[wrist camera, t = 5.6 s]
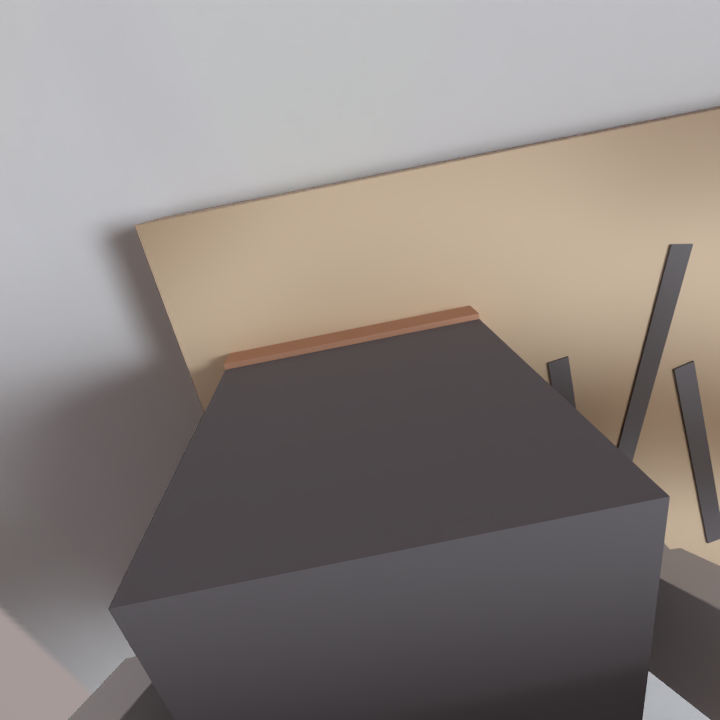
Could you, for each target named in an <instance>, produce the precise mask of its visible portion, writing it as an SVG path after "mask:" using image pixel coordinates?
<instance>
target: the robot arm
mask: <svg viewBox="0 0 720 720" xmlns="http://www.w3.org/2000/svg"><path fill="white" fill-rule="evenodd" d="M648 671H650V672H651V673H652V674H653V675H655V676H656V677H657V678H658V679H660V680H661V681H662V682H664V683H665V684H666V685H667V686H669V687H670V688H671V689H672V690H674V691H675V692H676V693H678V694H679V695H680V696H681V697H683V698H684V699H685V700H686V701H688V702H689V703H690V704H691V705H693V706H694V707H695V708H697V709H698V710H699V711H700V712H702V713H703V714H704V715H705V716H707V717H708V718H709V719H711V720H720V566H719V565H717V564H715V563H712V562H710V561H708V560H706V559H704V558H701V557H699V556H697V555H695V554H693V553H691V552H688V551H686V550H684V549H682V548H676V549H670V548H669V547H668V546H667V545H666V544H665V543H664V548H663V556H662V564H661V572H660V580H659V588H658V596H657V604H656V612H655V621H654V629H653V637H652V645H651V653H650V661H649V669H648ZM68 720H174V718H173V717H172V715H171V713H170V712H169V710H168V708H167V707H166V705H165V703H164V702H163V700H162V698H161V697H160V695H159V693H158V692H157V690H156V688H155V686H154V685H153V683H152V681H151V680H150V678H149V676H148V675H147V673H146V671H145V670H144V668H143V666H142V665H141V663H140V661H139V660H138V658H137V656H135V657H131V658H127V659H125V660H124V661H123V662H122V663H121V664H120V665H119V666H118V668H117V669H116V670H115V671H114V672H113V673H112V674H111V675H110V676H109V677H108V678H107V679H106V680H105V681H104V682H103V683H102V684H101V685H100V687H99V688H98V689H97V690H96V691H95V692H94V693H93V694H92V695H91V696H90V697H89V698H88V699H87V700H86V701H85V702H84V703H83V704H82V705H81V707H80V708H79V709H78V710H77V711H76V712H75V713H74V714H73V715H72V716H71V717H70V718H69V719H68Z"/></svg>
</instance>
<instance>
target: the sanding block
mask: <svg viewBox="0 0 720 720" xmlns="http://www.w3.org/2000/svg"><path fill="white" fill-rule="evenodd" d="M224 367H225V372H224V374H223V376H222V378H221V380H220V382H219V384H218V386H217V388H216V390H215V392H214V394H213V396H212V398H211V400H210V402H209V404H208V406H207V409H206V411H205V413H204V415H203V417H202V419H201V421H200V423H199V425H198V427H197V429H196V431H195V433H194V435H193V437H192V439H191V441H190V443H189V445H188V447H187V449H186V451H185V453H184V456H183V458H182V460H181V462H180V464H179V466H178V468H177V470H176V472H175V474H174V476H173V478H172V480H171V482H170V484H169V486H168V488H167V490H166V492H165V494H164V496H163V498H162V500H161V502H160V505H159V507H158V509H157V511H156V513H155V515H154V517H153V519H152V521H151V523H150V525H149V527H148V529H147V531H146V533H145V535H144V537H143V539H142V541H141V543H140V545H139V547H138V549H137V551H136V554H135V556H134V558H133V560H132V562H131V564H130V566H129V568H128V570H127V572H126V574H125V576H124V578H123V580H122V582H121V584H120V586H119V588H118V590H117V592H116V594H115V596H114V598H113V600H112V603H111V605H110V607H109V611H110V613H111V614H112V616H113V618H114V619H115V621H116V623H117V624H118V626H119V628H120V629H121V631H122V633H123V634H124V636H125V638H126V639H127V641H128V643H129V644H130V646H131V648H132V650H133V651H134V653H135V655H136V656H137V658H138V660H139V661H140V663H141V665H142V666H143V668H144V670H145V671H146V673H147V675H148V676H149V678H150V680H151V681H152V683H153V685H154V686H155V688H156V690H157V692H158V693H159V695H160V697H161V698H162V700H163V702H164V703H165V705H166V707H167V708H168V710H169V712H170V713H171V715H172V717H173V718H174V720H642V717H643V709H644V701H645V693H646V685H647V677H648V669H649V661H650V653H651V645H652V637H653V629H654V621H655V612H656V604H657V596H658V588H659V580H660V572H661V564H662V556H663V548H664V540H665V532H666V524H667V516H668V508H669V500H670V496H669V495H668V494H667V493H666V492H664V491H663V490H662V489H661V488H660V487H659V486H658V485H657V484H656V483H655V482H654V481H653V480H652V479H651V478H649V477H648V476H647V475H646V474H645V473H644V472H643V471H642V470H641V469H640V468H639V467H638V466H637V465H635V464H634V463H633V462H632V461H631V460H630V459H629V458H628V457H627V456H626V455H625V454H624V453H623V452H622V451H620V450H619V449H618V448H617V447H616V446H615V445H614V444H613V443H612V442H611V441H610V440H609V439H608V438H607V437H605V436H604V435H603V434H602V433H601V432H600V431H599V430H598V429H597V428H596V427H595V426H594V425H593V424H592V423H590V422H589V421H588V420H587V419H586V418H585V417H584V416H583V415H582V414H581V413H580V412H579V411H578V410H576V409H575V408H574V407H573V406H572V405H571V404H570V403H569V402H568V401H567V400H566V399H565V398H564V397H563V396H561V395H560V394H559V393H558V392H557V391H556V390H555V389H554V388H553V387H552V386H551V385H550V384H549V383H548V382H546V381H545V380H544V379H543V378H542V377H541V376H540V375H539V374H538V373H537V372H536V371H535V370H534V369H532V368H531V367H530V366H529V365H528V364H527V363H526V362H525V361H524V360H523V359H522V358H521V357H520V356H519V355H517V354H516V353H515V352H514V351H513V350H512V349H511V348H510V347H509V346H508V345H507V344H506V343H505V342H504V341H502V340H501V339H500V338H499V337H498V336H497V335H496V334H495V333H494V332H493V331H492V330H491V329H490V328H489V327H487V326H486V325H485V324H484V323H483V322H482V321H481V320H480V319H479V313H478V312H477V311H476V310H475V309H473V308H472V307H471V306H470V305H469V306H464V307H459V308H454V309H449V310H444V311H439V312H434V313H429V314H424V315H419V316H414V317H409V318H404V319H399V320H394V321H389V322H384V323H379V324H374V325H369V326H364V327H359V328H354V329H349V330H344V331H339V332H334V333H329V334H324V335H319V336H314V337H309V338H304V339H299V340H294V341H289V342H284V343H279V344H274V345H269V346H264V347H259V348H254V349H249V350H244V351H239V352H234V353H229V355H228V357H227V359H226V361H225V363H224Z"/></svg>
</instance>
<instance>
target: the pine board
mask: <svg viewBox="0 0 720 720" xmlns="http://www.w3.org/2000/svg"><path fill="white" fill-rule="evenodd" d="M135 228H136V230H137V233H138V236H139V238H140V241H141V244H142V247H143V249H144V252H145V255H146V257H147V260H148V263H149V265H150V268H151V271H152V273H153V276H154V279H155V281H156V284H157V287H158V289H159V292H160V295H161V298H162V300H163V303H164V306H165V308H166V311H167V314H168V316H169V319H170V322H171V324H172V327H173V330H174V332H175V335H176V338H177V340H178V343H179V346H180V348H181V351H182V354H183V357H184V359H185V362H186V365H187V367H188V370H189V373H190V375H191V378H192V381H193V383H194V386H195V389H196V391H197V394H198V397H199V399H200V402H201V405H202V408H203V410H204V413H205V411H206V409H207V406H208V404H209V402H210V400H211V398H212V396H213V394H214V392H215V390H216V388H217V386H218V384H219V382H220V380H221V378H222V376H223V374H224V372H225V367H224V363H225V361H226V359H227V357H228V355H229V353H234V352H239V351H244V350H249V349H254V348H259V347H264V346H269V345H274V344H279V343H284V342H289V341H294V340H299V339H304V338H309V337H314V336H319V335H324V334H329V333H334V332H339V331H344V330H349V329H354V328H359V327H364V326H369V325H374V324H379V323H384V322H389V321H394V320H399V319H404V318H409V317H414V316H419V315H424V314H429V313H434V312H439V311H444V310H449V309H454V308H459V307H464V306H469V305H470V306H471V307H472V308H473V309H475V310H476V311H477V312H478V313H479V319H480V320H481V321H482V322H483V323H484V324H485V325H486V326H487V327H489V328H490V329H491V330H492V331H493V332H494V333H495V334H496V335H497V336H498V337H499V338H500V339H501V340H502V341H504V342H505V343H506V344H507V345H508V346H509V347H510V348H511V349H512V350H513V351H514V352H515V353H516V354H517V355H519V356H520V357H521V358H522V359H523V360H524V361H525V362H526V363H527V364H528V365H529V366H530V367H531V368H532V369H534V370H535V371H536V372H537V373H538V374H539V375H540V376H541V377H542V378H543V379H544V380H545V381H546V382H548V383H549V384H550V385H551V386H552V387H553V388H554V389H555V390H556V391H557V392H558V393H559V394H560V395H561V396H563V397H564V398H565V399H566V400H567V401H568V402H569V403H570V404H571V405H572V406H573V407H574V408H575V409H576V410H578V411H579V412H580V413H581V414H582V415H583V416H584V417H585V418H586V419H587V420H588V421H589V422H590V423H592V424H593V425H594V426H595V427H596V428H597V429H598V430H599V431H600V432H601V433H602V434H603V435H604V436H605V437H607V438H608V439H609V440H610V441H611V442H612V443H613V444H614V445H615V446H616V447H617V448H618V449H619V450H620V451H622V452H623V453H624V454H625V455H626V456H627V457H628V458H629V459H630V460H631V461H632V462H633V463H634V464H635V465H637V466H638V467H639V468H640V469H641V470H642V471H643V472H644V473H645V474H646V475H647V476H648V477H649V478H651V479H652V480H653V481H654V482H655V483H656V484H657V485H658V486H659V487H660V488H661V489H662V490H663V491H664V492H666V493H667V494H668V495H669V496H670V500H669V508H668V516H667V524H666V532H665V540H664V543H665V544H666V545H667V546H668V547H669V548H670V549H676V548H682V549H684V550H686V551H688V552H691V553H693V554H695V555H697V556H699V557H701V558H704V559H706V560H708V561H710V562H712V563H715V564H717V565H719V566H720V106H719V107H714V108H709V109H704V110H699V111H694V112H689V113H684V114H679V115H674V116H669V117H664V118H659V119H654V120H649V121H644V122H639V123H634V124H629V125H624V126H619V127H614V128H609V129H604V130H599V131H594V132H589V133H584V134H579V135H574V136H569V137H564V138H559V139H554V140H549V141H544V142H539V143H533V144H528V145H523V146H518V147H513V148H508V149H503V150H498V151H493V152H488V153H483V154H478V155H473V156H468V157H463V158H458V159H453V160H448V161H443V162H438V163H433V164H428V165H423V166H418V167H413V168H408V169H403V170H398V171H393V172H388V173H383V174H378V175H373V176H368V177H363V178H358V179H353V180H348V181H343V182H338V183H333V184H328V185H323V186H318V187H313V188H308V189H303V190H298V191H293V192H288V193H283V194H278V195H273V196H268V197H263V198H257V199H252V200H247V201H242V202H237V203H232V204H227V205H222V206H217V207H212V208H207V209H202V210H197V211H192V212H187V213H182V214H177V215H172V216H167V217H163V218H160V219H156V220H153V221H149V222H145V223H142V224H138V225H135Z"/></svg>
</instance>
